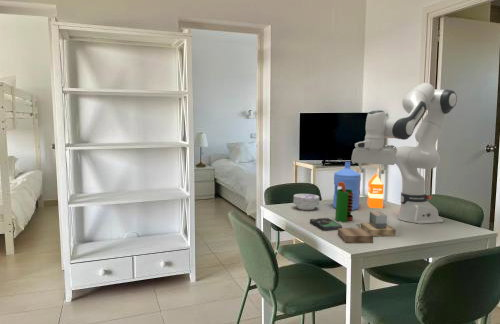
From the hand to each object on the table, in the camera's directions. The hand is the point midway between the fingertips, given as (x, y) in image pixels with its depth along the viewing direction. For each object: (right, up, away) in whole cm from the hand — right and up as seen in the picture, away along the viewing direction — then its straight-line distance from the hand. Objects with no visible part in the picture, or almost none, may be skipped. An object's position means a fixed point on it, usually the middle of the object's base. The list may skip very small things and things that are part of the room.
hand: (372, 173), depth 182 cm
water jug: (-1, -23, +47) cm, 52 cm away
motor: (-9, -26, +19) cm, 33 cm away
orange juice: (+18, -22, +51) cm, 59 cm away
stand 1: (-12, -29, -13) cm, 34 cm away
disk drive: (-21, -27, +6) cm, 35 cm away
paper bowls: (-25, -23, +44) cm, 56 cm away
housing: (+1, -25, -4) cm, 25 cm away
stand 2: (+1, -28, -3) cm, 28 cm away
